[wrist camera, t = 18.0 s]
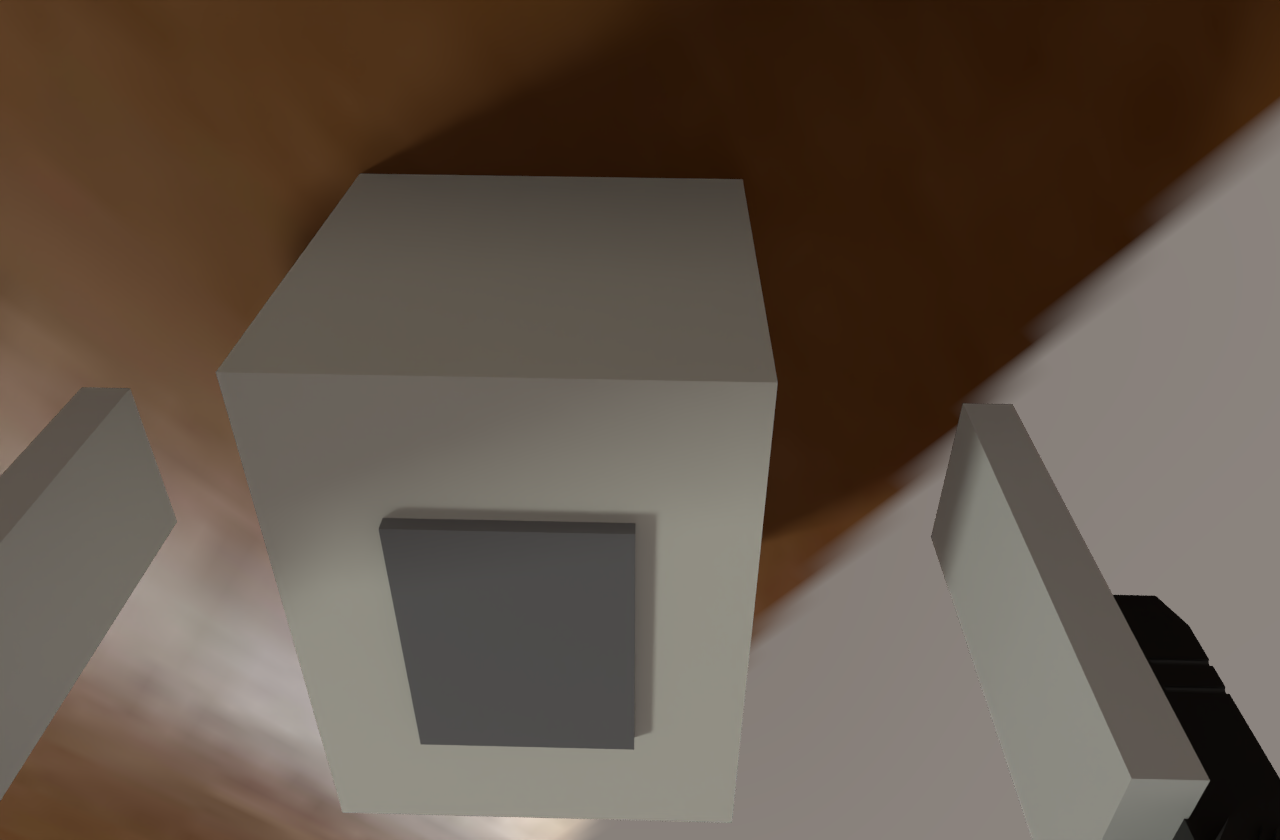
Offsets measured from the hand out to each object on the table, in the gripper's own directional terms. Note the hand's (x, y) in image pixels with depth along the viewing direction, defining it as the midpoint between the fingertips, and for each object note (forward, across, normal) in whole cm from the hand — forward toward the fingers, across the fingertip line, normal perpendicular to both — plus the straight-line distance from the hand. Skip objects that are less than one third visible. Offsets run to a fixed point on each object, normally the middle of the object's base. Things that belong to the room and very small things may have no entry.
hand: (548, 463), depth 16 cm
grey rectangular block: (+2, 0, 0) cm, 2 cm away
